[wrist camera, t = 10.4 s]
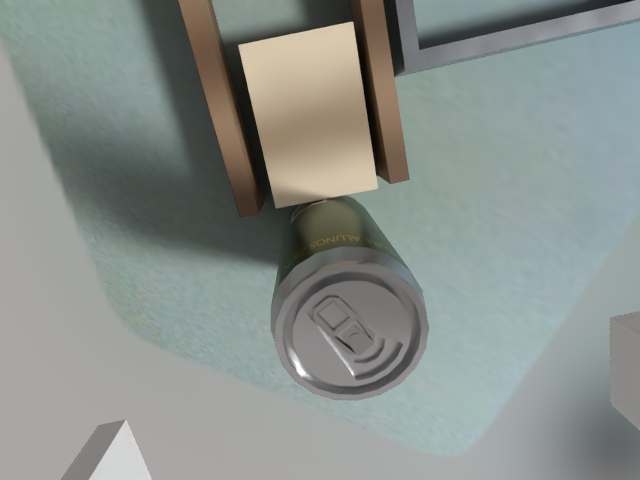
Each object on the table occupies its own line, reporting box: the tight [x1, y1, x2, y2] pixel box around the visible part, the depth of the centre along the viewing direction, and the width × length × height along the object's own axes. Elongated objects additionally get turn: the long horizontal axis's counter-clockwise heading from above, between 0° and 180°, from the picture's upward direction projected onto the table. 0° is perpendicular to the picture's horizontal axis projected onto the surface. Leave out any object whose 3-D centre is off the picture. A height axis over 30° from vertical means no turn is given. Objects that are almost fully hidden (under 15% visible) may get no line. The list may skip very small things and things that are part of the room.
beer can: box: [271, 195, 429, 400], centre depth 18 cm, size 5×5×12 cm
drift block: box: [238, 21, 378, 208], centre depth 21 cm, size 8×6×3 cm
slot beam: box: [178, 0, 409, 217], centre depth 19 cm, size 16×9×3 cm, turn 12°
